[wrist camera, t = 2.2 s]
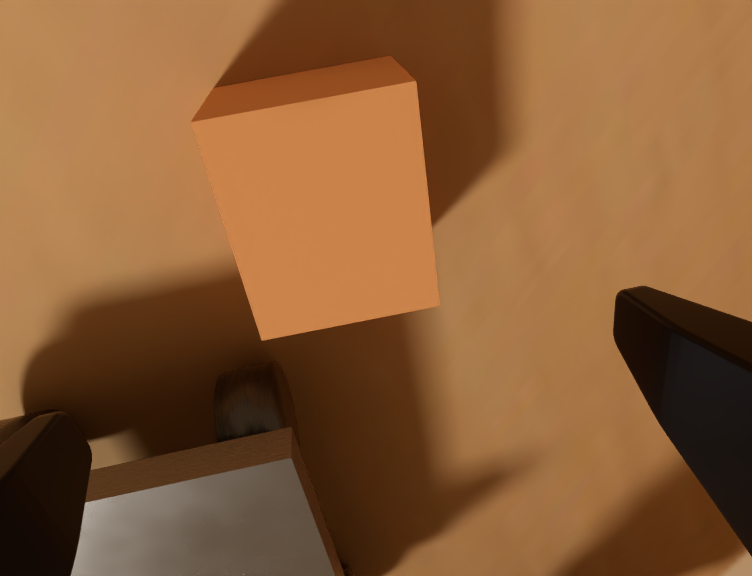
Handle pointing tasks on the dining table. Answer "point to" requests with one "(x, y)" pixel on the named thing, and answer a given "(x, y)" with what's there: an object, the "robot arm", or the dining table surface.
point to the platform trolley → (211, 497)
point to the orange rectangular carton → (323, 194)
